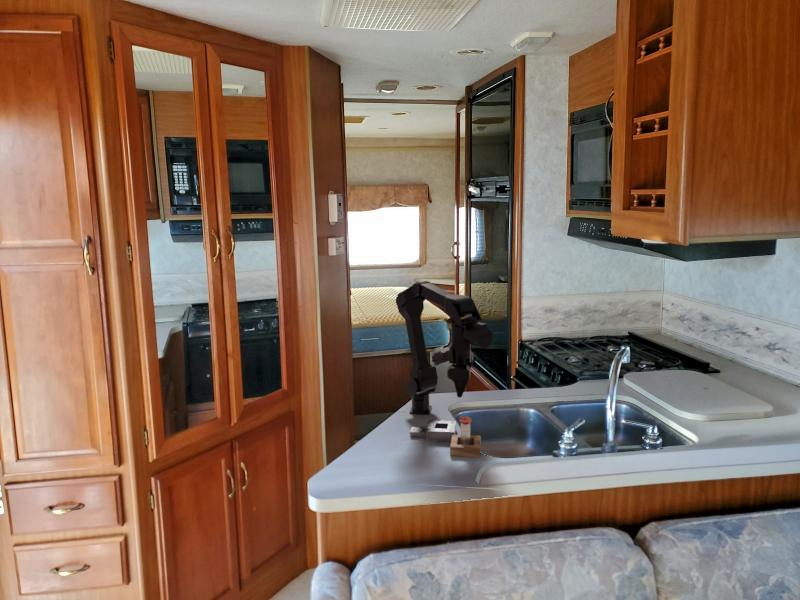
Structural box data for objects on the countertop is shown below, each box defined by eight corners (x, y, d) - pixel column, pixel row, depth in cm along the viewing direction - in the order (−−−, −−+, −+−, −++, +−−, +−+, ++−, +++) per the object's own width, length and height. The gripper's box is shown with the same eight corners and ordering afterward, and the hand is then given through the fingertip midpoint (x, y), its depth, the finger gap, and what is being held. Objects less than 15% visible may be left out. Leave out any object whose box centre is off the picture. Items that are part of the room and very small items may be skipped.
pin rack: (452, 442, 172) (452, 434, 172) (480, 444, 171) (480, 435, 171) (450, 455, 165) (450, 447, 164) (479, 457, 163) (479, 448, 163)
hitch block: (413, 428, 183) (412, 419, 182) (456, 430, 180) (456, 421, 180) (409, 440, 175) (408, 430, 174) (454, 442, 173) (454, 432, 172)
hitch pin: (460, 446, 170) (460, 416, 168) (471, 447, 169) (471, 416, 167) (459, 452, 167) (459, 420, 165) (471, 452, 166) (471, 421, 164)
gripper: (436, 330, 185) (437, 379, 188) (429, 348, 167) (429, 402, 170) (473, 332, 183) (473, 380, 186) (469, 350, 165) (469, 404, 168)
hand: (460, 391), depth 178 cm, fingers open, 9 cm apart
